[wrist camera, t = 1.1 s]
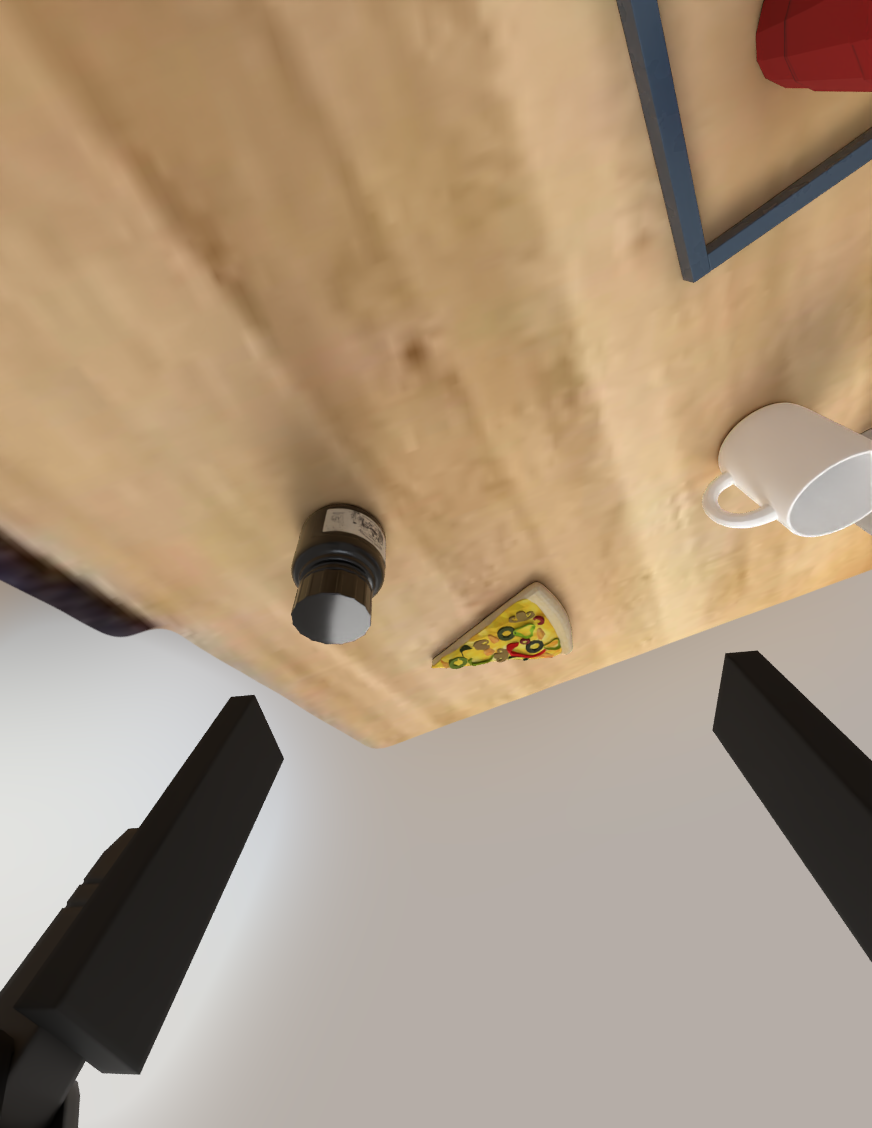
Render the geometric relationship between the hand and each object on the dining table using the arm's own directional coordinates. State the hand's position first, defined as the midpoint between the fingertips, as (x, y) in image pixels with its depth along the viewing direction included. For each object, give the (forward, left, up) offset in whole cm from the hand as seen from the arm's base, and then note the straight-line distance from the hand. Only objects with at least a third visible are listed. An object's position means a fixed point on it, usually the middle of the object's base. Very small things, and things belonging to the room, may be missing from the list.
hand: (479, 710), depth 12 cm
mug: (+25, +21, -30) cm, 45 cm away
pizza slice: (+34, -13, -30) cm, 47 cm away
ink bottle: (+8, -17, -30) cm, 36 cm away
